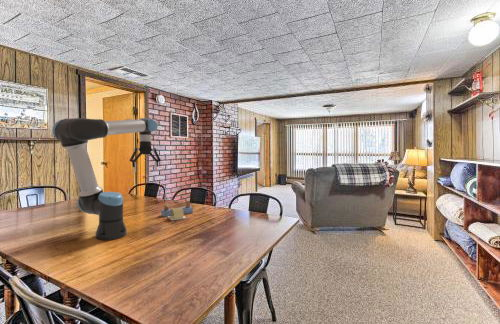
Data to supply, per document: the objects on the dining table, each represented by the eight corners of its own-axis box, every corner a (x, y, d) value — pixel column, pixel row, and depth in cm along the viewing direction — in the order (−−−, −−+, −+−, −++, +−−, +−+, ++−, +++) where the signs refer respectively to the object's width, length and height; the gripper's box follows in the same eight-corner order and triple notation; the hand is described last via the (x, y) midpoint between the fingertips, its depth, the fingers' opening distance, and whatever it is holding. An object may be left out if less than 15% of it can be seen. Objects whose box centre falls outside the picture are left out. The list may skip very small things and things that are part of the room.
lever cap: (179, 215, 181) (179, 207, 181) (183, 217, 175) (183, 209, 175) (170, 216, 178) (170, 208, 177) (174, 218, 172) (174, 210, 171)
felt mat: (186, 218, 176) (186, 217, 176) (171, 220, 170) (171, 219, 170) (181, 215, 183) (181, 214, 183) (167, 217, 177) (167, 216, 177)
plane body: (192, 212, 191) (192, 200, 191) (163, 216, 178) (163, 204, 178) (190, 211, 195) (190, 199, 195) (161, 215, 183) (161, 202, 182)
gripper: (162, 141, 186) (162, 170, 187) (124, 140, 172) (124, 171, 173) (165, 141, 180) (165, 171, 181) (126, 140, 166) (127, 172, 167)
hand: (145, 171), depth 177 cm, fingers open, 13 cm apart
